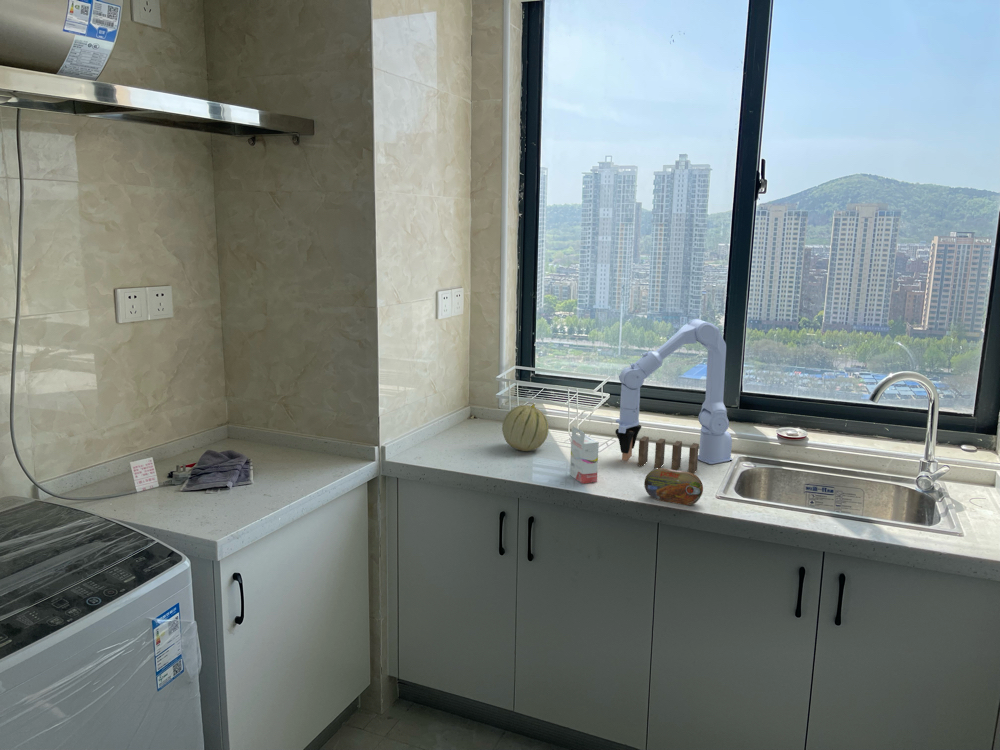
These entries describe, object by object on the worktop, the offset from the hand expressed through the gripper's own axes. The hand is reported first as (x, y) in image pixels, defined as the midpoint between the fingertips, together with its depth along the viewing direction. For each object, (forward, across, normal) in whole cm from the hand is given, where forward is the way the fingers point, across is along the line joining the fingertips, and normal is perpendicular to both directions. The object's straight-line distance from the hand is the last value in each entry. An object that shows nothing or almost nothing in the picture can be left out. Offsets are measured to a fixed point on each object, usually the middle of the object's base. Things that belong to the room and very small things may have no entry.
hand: (627, 450), depth 225 cm
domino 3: (+3, 0, +10) cm, 11 cm away
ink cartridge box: (+4, +22, -6) cm, 23 cm away
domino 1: (+2, 0, 0) cm, 2 cm away
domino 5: (+3, 0, +20) cm, 20 cm away
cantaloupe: (+4, +5, -32) cm, 33 cm away
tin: (+4, +27, +20) cm, 34 cm away
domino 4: (+3, 0, +15) cm, 15 cm away
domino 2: (+3, 0, +5) cm, 6 cm away
